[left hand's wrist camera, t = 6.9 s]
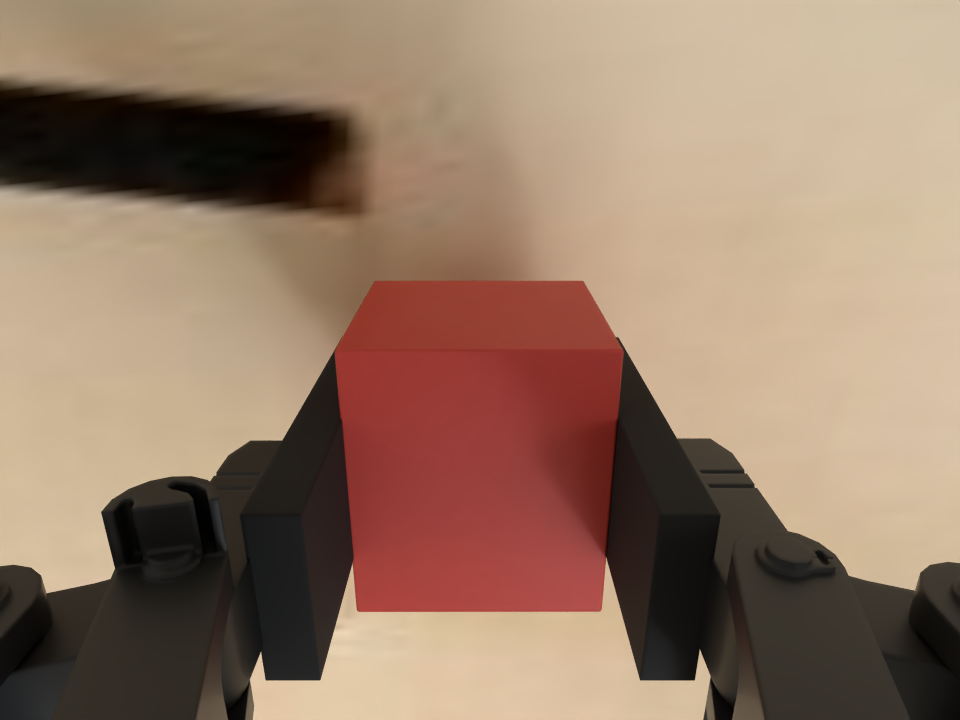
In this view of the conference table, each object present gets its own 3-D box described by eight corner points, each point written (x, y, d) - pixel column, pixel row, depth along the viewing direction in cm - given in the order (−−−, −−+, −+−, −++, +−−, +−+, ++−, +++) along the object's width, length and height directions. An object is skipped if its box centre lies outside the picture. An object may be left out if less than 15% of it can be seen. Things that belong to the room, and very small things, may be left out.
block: (374, 280, 14) (333, 350, 10) (583, 280, 14) (624, 350, 10) (386, 486, 16) (356, 613, 12) (571, 486, 16) (602, 612, 12)
